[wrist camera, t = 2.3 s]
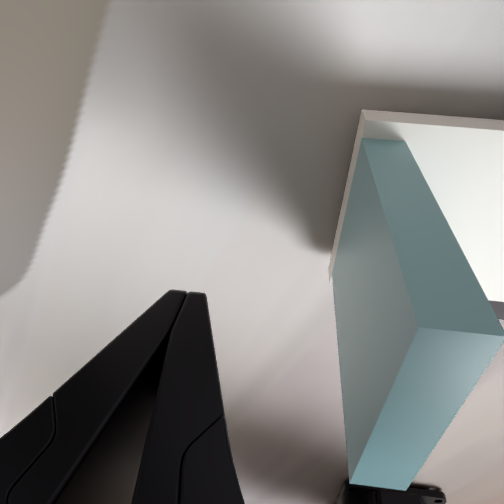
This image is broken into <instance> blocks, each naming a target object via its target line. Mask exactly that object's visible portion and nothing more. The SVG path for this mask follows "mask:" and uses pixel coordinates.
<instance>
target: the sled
mask: <svg viewBox="0 0 504 504" xmlns="http://www.w3.org/2000/svg"><path fill="white" fill-rule="evenodd" d="M329 282H330V284H333V292H334V304H335V316H336V328H337V340H338V352H339V364H340V376H341V388H342V400H343V412H344V424H345V436H346V448H347V460H348V472H349V483H350V484H358V485H365V486H373V487H381V488H388V489H396V490H404V491H406V490H407V488H408V487H409V485H410V484H411V482H412V481H413V479H414V478H415V476H416V475H417V473H418V472H419V470H420V469H421V467H422V465H423V464H424V462H425V461H426V459H427V458H428V456H429V455H430V453H431V452H432V450H433V449H434V447H435V446H436V444H437V443H438V441H439V440H440V438H441V437H442V435H443V434H444V432H445V431H446V429H447V428H448V426H449V424H450V423H451V421H452V420H453V418H454V417H455V415H456V414H457V412H458V411H459V409H460V408H461V406H462V405H463V403H464V402H465V400H466V399H467V397H468V396H469V394H470V393H471V391H472V390H473V388H474V387H475V385H476V384H477V382H478V380H479V379H480V377H481V376H482V374H483V373H484V371H485V370H486V368H487V367H488V365H489V364H490V362H491V361H492V359H493V358H494V356H495V355H496V353H497V352H498V350H499V349H500V347H501V346H502V344H503V343H504V330H503V328H502V326H501V324H500V322H499V320H498V318H497V316H496V314H495V312H494V310H493V308H492V306H491V305H490V303H489V301H488V300H490V301H500V302H504V120H496V119H482V118H469V117H456V116H443V115H430V114H417V113H404V112H391V111H378V110H365V109H362V111H361V115H360V120H359V125H358V130H357V135H356V139H355V144H354V149H353V154H352V158H351V163H350V168H349V173H348V178H347V182H346V187H345V192H344V197H343V201H342V206H341V211H340V216H339V221H338V225H337V230H336V235H335V240H334V245H333V249H332V254H331V259H330V264H329Z"/></svg>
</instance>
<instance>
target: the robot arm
mask: <svg viewBox="0 0 504 504" xmlns="http://www.w3.org/2000/svg"><path fill="white" fill-rule="evenodd" d="M445 503H446V497H445V494H444V493H443V492H440V491H432V490H425V489H417V488H409V487H408V488H407V490H406V491H404V490H396V489H388V488H381V487H373V486H365V485H358V484H350V483H349V480H347V481H345V482H344V484H343V486H342V489H341V491H340V493H339V496H338V498H337V501H336V503H335V504H445ZM0 504H245V503H244V499H243V496H242V493H241V489H240V485H239V482H238V478H237V474H236V470H235V467H234V463H233V458H232V453H231V448H230V443H229V437H228V431H227V425H226V419H225V413H224V407H223V400H222V394H221V387H220V381H219V374H218V368H217V361H216V355H215V348H214V342H213V335H212V329H211V323H210V316H209V310H208V303H207V297H206V294H205V293H200V292H189V293H187V292H186V291H181V290H169V291H168V292H167V293H165V294H164V295H163V296H162V297H161V298H160V299H159V300H158V301H156V302H155V303H154V304H153V305H152V306H151V307H150V308H149V309H147V310H146V311H145V312H144V313H143V314H142V315H141V316H140V317H138V318H137V319H136V320H135V321H134V322H133V323H132V324H131V325H129V326H128V327H127V328H126V329H125V330H124V331H123V332H122V333H120V334H119V335H118V336H117V337H116V338H115V339H114V340H113V341H111V342H110V343H109V344H108V345H107V346H106V347H105V348H104V349H102V350H101V351H100V352H99V353H98V354H97V355H96V356H95V357H93V358H92V359H91V360H90V361H89V362H88V363H87V364H86V365H84V366H83V367H82V368H81V369H80V370H79V371H78V372H77V373H75V374H74V375H73V376H72V377H71V378H70V379H69V380H68V381H66V382H65V383H64V384H63V385H62V386H61V387H60V388H59V389H57V390H56V391H55V392H54V393H53V396H49V397H48V398H47V399H46V400H45V401H44V402H43V403H41V404H40V405H39V406H38V407H37V408H36V409H35V410H34V411H32V412H31V413H30V414H29V415H28V416H26V417H25V418H24V419H23V420H22V421H21V422H19V423H18V424H17V425H16V426H15V427H13V428H12V429H11V430H10V431H9V432H7V433H6V434H5V435H4V436H2V437H1V438H0Z"/></svg>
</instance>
